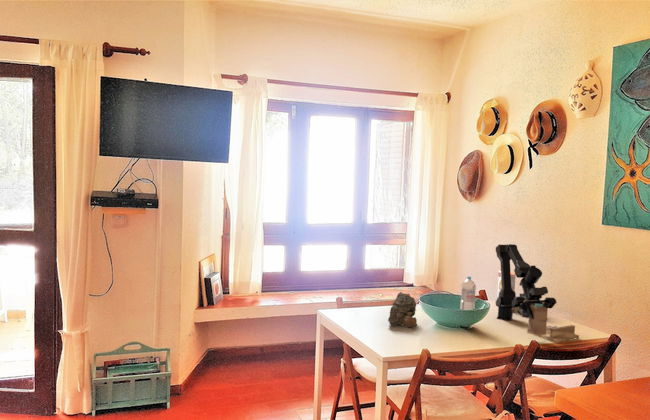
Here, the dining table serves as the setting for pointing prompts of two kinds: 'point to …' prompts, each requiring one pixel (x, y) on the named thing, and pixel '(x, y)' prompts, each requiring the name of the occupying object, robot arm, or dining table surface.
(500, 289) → the cracker box
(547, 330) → the cleat board
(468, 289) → the water bottle
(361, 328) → the dining table surface
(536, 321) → the wooden block
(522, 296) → the small box
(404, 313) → the rock
